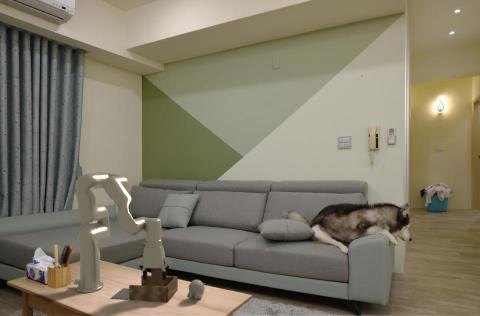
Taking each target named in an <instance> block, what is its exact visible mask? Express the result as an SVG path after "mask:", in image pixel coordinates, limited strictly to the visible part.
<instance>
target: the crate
mask: <svg viewBox="0 0 480 316" xmlns="http://www.w3.org/2000/svg"><path fill="white" fill-rule="evenodd" d="M140 279H141V280H140V281H141V283H140V285H139V284H138V285H137V284H129V286H128V288H129V299H128V301H130V302H131V301H132V302H151V303H152V302H153V303H169V302H170V300H171V299H172V298H173V297H174V295H175V294H176V293H177V292H178V291H179V290H178V289H179V286H178V285H179V284H178V283H179V282H178V279H179V277H178V276H175V275H174V276H171V275H167V277H166V279H165V280H164V286H149V284H150V282H151V275H149V274H147V278H146V279H145V280H144V279H143V274H142V275H141V276H140Z"/></svg>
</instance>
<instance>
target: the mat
mask: <svg viewBox="0 0 480 316" xmlns="http://www.w3.org/2000/svg"><path fill="white" fill-rule="evenodd" d="M113 299H114V300H127V301H129V287H128V288H126V287H124V288H122V289H120V290H119V291H118V292H117V293H115V294H114V295H113V296H111V297H110V300H113Z"/></svg>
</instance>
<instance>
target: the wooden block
mask: <svg viewBox="0 0 480 316" xmlns="http://www.w3.org/2000/svg"><path fill="white" fill-rule="evenodd" d="M150 270H151V271H150V274H151V275H150V276H151V282H150V284H149V286H164V280H162V272H163V270H162V269H161V268H150Z"/></svg>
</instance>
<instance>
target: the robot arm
mask: <svg viewBox="0 0 480 316" xmlns="http://www.w3.org/2000/svg"><path fill="white" fill-rule="evenodd" d="M129 186H130V181H129V180H128V178H127V177H125V176H124V175H121V174H115V173H111V172H109V173H108V172H89V173H85V174H82V175H80V176H79V177H78V178H77V180H76V182H75V186H74V189H75V195H76V199H77V211H78V219H79V222H80V223H81V225H83V226H88V225H92V226H89V227H85V228H84V229H82V230H81V231H79V233H78V235H77V243H78V247H79V272H80V273H79V275H80V277H79V278H76V279H75V280H74V282H73V285H77V287H76V292H78V293H82V294H83V293H88V294H89V293H93V292H97V291H99V290H101V289H102V288H104V282H103V281H101V251H100V248H99V246H98V244H100V243H103V242H105V241H107V240H108V239H109V238H110V235H111V226H110V225H111V224H110V216H109V211H108V208H107V207H106V206H105V205H103V204H97V201H96V196H95V194H94V192H93V191H94V190H98V189H99V190H100V189H103V190H104V191H105V192H106V194H107V195H108V197H109V198H110V200H111V201H112V202H113V204H114V206H115V207H116V218H117V222H118V224H119V225H120V226H121V228H122V229H123V231H124V232H125V234H127V235H129V236H131V237H132V236H137V235H140V234H143V233H145V241H143V245H145V246H143V247H144V248H143V255H142V259H139V260H138V261H136V262H137V263H136V264H137V265H138V267H139V269H140V270H141V272H142V275H143V279H144V280H145V279H146V278H147V275H148V269H151V268H161V269H162V270H163V272H162V280H165V279H166V277H167V276H168V274H167V273H168V271H167V270H168V269H169V268H170V267H171V265H172V264H173V263H172V262H173V261H171V260H170V259H167V258H166V254H165V253H166V252H165V248H164V245H163V241H162V239H163V238H162V237H163V236H162V235H163V233H162V220H161V219H160V218H158V217H146V216H141V217H137V218H133V216H132V214H131V213H130V211H129V205H130V204H131V203H132V201H133V199H132V198H133V197H132V196H131V194H130V193H129V192H128V191H127V189H128V188H129ZM92 190H93V191H92ZM166 264H167V265H166Z"/></svg>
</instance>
